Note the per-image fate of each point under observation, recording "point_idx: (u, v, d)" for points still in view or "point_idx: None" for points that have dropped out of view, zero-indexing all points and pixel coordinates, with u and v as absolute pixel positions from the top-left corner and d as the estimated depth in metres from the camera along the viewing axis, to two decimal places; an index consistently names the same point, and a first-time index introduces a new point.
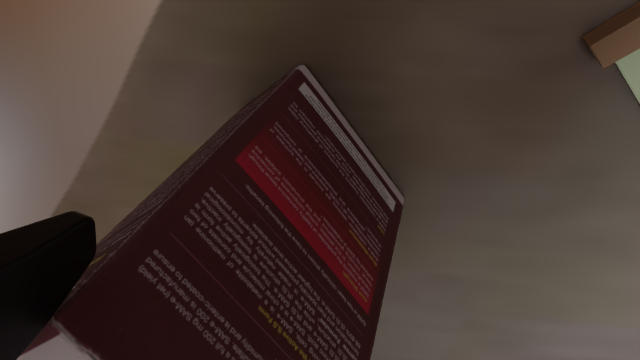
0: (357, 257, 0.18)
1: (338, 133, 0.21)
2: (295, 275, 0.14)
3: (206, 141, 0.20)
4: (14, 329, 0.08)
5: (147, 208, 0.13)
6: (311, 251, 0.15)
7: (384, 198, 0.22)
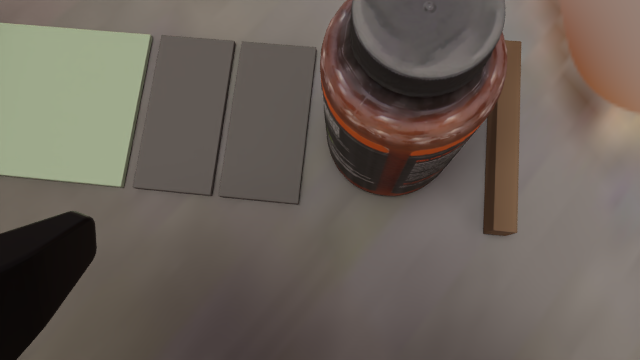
0: None
1: None
2: None
3: None
4: (14, 329, 0.08)
5: None
6: None
7: None
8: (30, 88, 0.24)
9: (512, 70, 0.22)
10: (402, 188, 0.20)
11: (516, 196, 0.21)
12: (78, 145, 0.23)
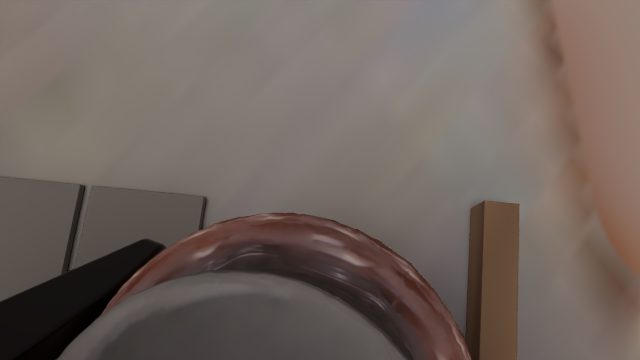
0: None
1: None
2: None
3: None
4: None
5: None
6: None
7: None
8: None
9: (505, 254, 0.14)
10: None
11: None
12: None
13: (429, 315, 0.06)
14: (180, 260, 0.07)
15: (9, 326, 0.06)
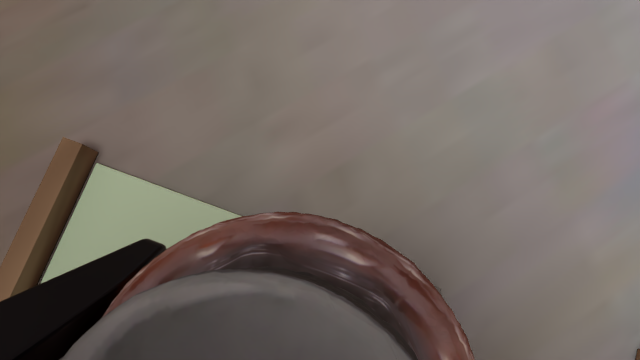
0: None
1: None
2: None
3: None
4: None
5: None
6: None
7: None
8: None
9: None
10: None
11: None
12: None
13: (431, 315, 0.06)
14: (183, 259, 0.07)
15: (9, 326, 0.06)
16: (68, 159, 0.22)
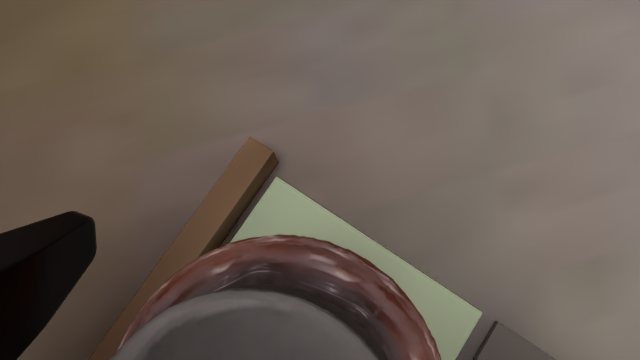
0: None
1: None
2: None
3: None
4: (14, 329, 0.08)
5: None
6: None
7: None
8: None
9: None
10: None
11: None
12: None
13: (404, 322, 0.08)
14: (201, 274, 0.08)
15: None
16: (252, 167, 0.16)
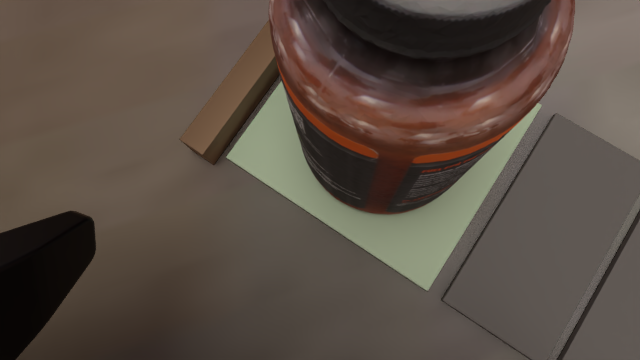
0: None
1: None
2: None
3: None
4: (13, 329, 0.08)
5: None
6: None
7: None
8: None
9: None
10: (400, 206, 0.15)
11: None
12: None
13: None
14: None
15: None
16: None
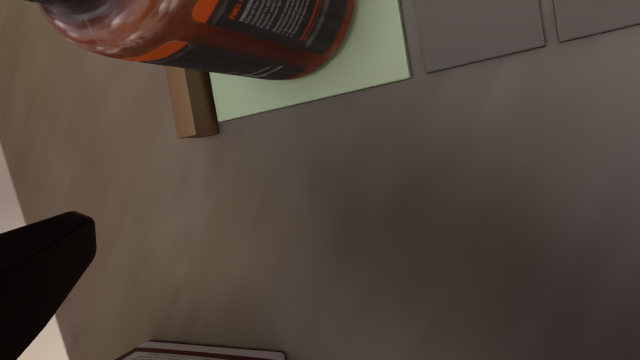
0: None
1: None
2: None
3: None
4: (14, 329, 0.08)
5: None
6: None
7: None
8: None
9: None
10: (316, 42, 0.16)
11: None
12: None
13: None
14: None
15: None
16: None
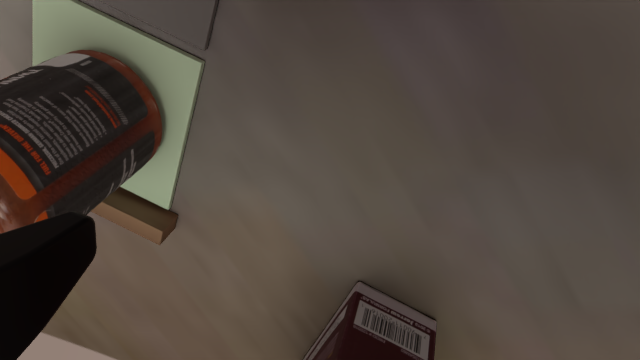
0: None
1: None
2: None
3: None
4: (14, 329, 0.08)
5: None
6: None
7: (337, 323, 0.23)
8: None
9: None
10: (130, 115, 0.19)
11: None
12: (154, 95, 0.21)
13: None
14: None
15: None
16: None
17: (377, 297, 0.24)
